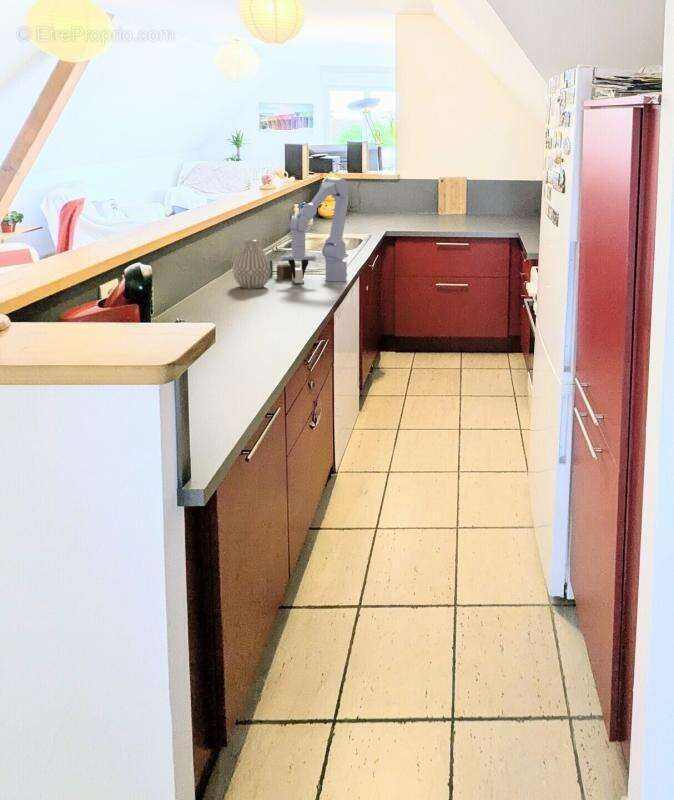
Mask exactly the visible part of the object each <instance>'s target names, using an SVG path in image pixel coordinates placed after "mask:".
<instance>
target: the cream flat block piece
mask: <svg viewBox="0 0 674 800" xmlns="http://www.w3.org/2000/svg"><path fill="white" fill-rule="evenodd" d="M291 280H292V282H293V281H294V282H295V283H303V281H304V278H303V270H302V268H301V267H300V268H295V278H293V273H292V277H291Z"/></svg>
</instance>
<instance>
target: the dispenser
mask: <svg viewBox="0 0 674 800" xmlns="http://www.w3.org/2000/svg"><path fill="white" fill-rule="evenodd" d="M300 264H301V261H295V268H300V269H301V267H300ZM284 278H292V269H291V266H290V264H289V262H288V261H280V262H279V261H278V262H276V280H277V281H284Z"/></svg>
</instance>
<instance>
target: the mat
mask: <svg viewBox="0 0 674 800" xmlns="http://www.w3.org/2000/svg"><path fill="white" fill-rule="evenodd" d="M292 285H305V280H303V283H295V282H294V281H293V280H292Z"/></svg>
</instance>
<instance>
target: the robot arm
mask: <svg viewBox="0 0 674 800" xmlns="http://www.w3.org/2000/svg"><path fill="white" fill-rule="evenodd" d="M349 187H350V184H349V183H348V181H347V180H346V179H345V178H339V177H337V178H336V177H331V176H329V177H326V178H325V179H324V180H323V182H321V187H320V188H319V190H318V191H317V193H316V194H315V195H314V197H313V198H312V199H311V201H310V202H309V203H306V204H303V206H302V209H301V210H300V211H299V212H298V213H297V214H296V216H295V217H292V218H291V219H290V220H289V223H288V228H289V229H290V233H291V255H281V256H280V258H281V259H280V260H281V261H280V262H289V264H290V266H291V269H292V273H293V278H295V262H300V264H301V269H302V270H303V279H304V277H305V272H306V271H307V267H308V265H309V262H316V261H317V259H316V255H306V231H307V230H308V229H309V224H310V221H312V219H313V218H314V217H315V215H317V213H318V211H317V210H318V209H317V208H319V206H320V205H321V204H322V203H323V202H324V201H325V200H326V198H327V197H329V196H332V198H333V199H334V201H335V203H334V209H333V214H332V215H333V216H332V221H331V227H330V234H329V237H328V238H327V239H326V240H324V241H325V243H324V245H323V247H322V251H321V252H322V253H321V254H322V256H323V257H324V259H325V277H324V281H325V282H347V277H348V273H347V270H348V269H347V268H348V267H347V266H348V265H347V263H348V261H347V259H346V260H345V257H346V253H347V251H346V246H347V245H346V244H347V243H346V242H345V241H344V239H343V236H344V229H345V224H346V217H347V212H348V206H349V205H348V204H349V197H350V196H349V189H350V188H349Z"/></svg>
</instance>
